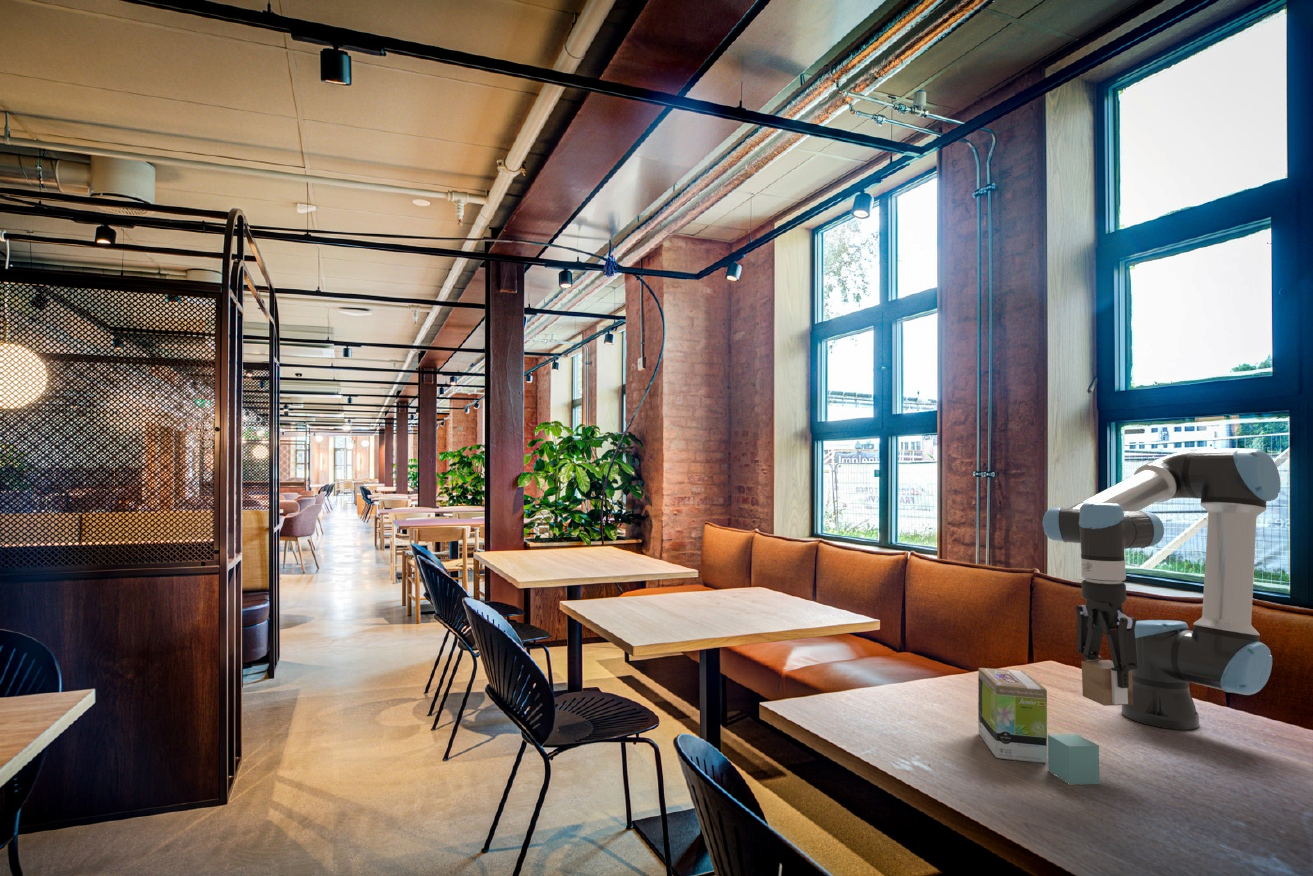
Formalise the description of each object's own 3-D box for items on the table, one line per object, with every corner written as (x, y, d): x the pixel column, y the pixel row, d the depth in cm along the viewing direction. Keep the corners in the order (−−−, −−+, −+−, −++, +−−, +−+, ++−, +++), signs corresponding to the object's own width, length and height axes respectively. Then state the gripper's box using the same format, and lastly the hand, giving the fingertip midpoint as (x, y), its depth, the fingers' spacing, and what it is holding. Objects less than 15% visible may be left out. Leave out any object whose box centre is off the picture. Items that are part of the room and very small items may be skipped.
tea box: (1049, 764, 141) (1048, 688, 142) (995, 759, 143) (994, 684, 144) (1026, 737, 156) (1025, 669, 157) (977, 733, 158) (976, 665, 159)
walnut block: (1110, 694, 144) (1109, 660, 144) (1133, 704, 138) (1131, 668, 138) (1082, 696, 143) (1081, 660, 144) (1104, 705, 137) (1103, 669, 138)
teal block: (1077, 771, 138) (1076, 734, 138) (1099, 784, 132) (1098, 745, 132) (1048, 771, 137) (1047, 734, 138) (1069, 785, 131) (1068, 746, 132)
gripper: (1054, 574, 151) (1057, 684, 150) (1121, 588, 132) (1126, 715, 131) (1087, 573, 152) (1090, 683, 151) (1158, 588, 133) (1163, 713, 132)
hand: (1107, 697), depth 141 cm, fingers closed on walnut block, 6 cm apart
